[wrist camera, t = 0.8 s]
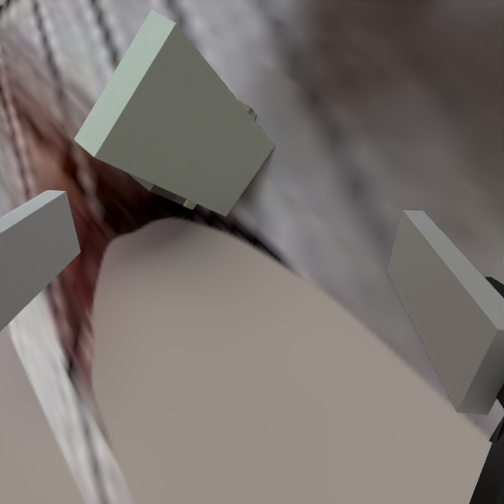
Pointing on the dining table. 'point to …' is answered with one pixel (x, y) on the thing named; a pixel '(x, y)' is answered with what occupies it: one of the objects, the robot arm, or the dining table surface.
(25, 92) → the dining table surface
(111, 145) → the flat rectangular panel
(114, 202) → the dining table surface
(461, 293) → the robot arm
